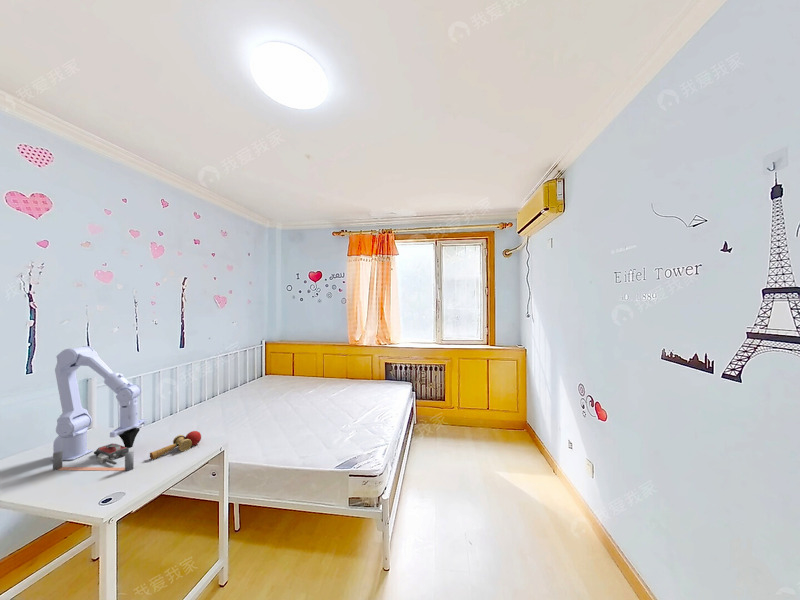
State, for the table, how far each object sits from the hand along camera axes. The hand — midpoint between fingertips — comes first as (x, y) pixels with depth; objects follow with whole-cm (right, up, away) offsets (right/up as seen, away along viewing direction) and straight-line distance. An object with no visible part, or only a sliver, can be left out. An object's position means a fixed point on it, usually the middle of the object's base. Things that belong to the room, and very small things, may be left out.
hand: (128, 447), depth 129 cm
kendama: (+21, -2, 0) cm, 21 cm away
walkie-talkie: (-1, -2, -5) cm, 6 cm away
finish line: (-1, -1, -14) cm, 14 cm away
